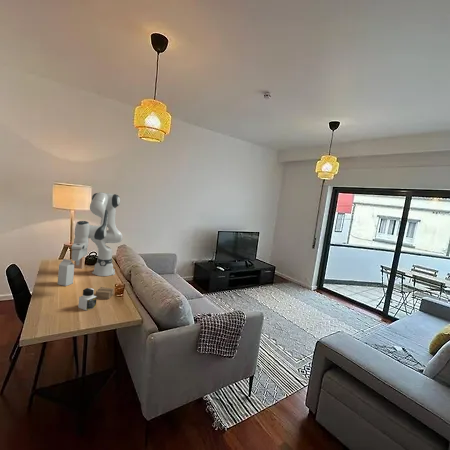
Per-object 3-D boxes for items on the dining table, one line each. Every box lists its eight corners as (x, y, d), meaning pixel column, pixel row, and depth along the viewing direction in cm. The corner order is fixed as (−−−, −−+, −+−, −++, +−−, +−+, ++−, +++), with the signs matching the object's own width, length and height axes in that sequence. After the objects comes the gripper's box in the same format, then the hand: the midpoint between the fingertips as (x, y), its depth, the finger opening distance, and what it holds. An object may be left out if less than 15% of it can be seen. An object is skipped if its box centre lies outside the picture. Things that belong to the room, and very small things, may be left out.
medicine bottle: (86, 310, 158) (88, 292, 157) (77, 307, 160) (79, 289, 159) (95, 307, 165) (97, 288, 164) (87, 304, 167) (89, 286, 166)
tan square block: (100, 293, 186) (100, 287, 186) (113, 294, 187) (113, 288, 187) (95, 298, 177) (95, 291, 177) (108, 299, 178) (109, 292, 178)
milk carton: (65, 286, 190) (67, 261, 189) (57, 284, 192) (59, 259, 190) (73, 283, 197) (75, 259, 195) (65, 281, 198) (67, 257, 197)
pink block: (76, 266, 182) (77, 255, 181) (83, 266, 183) (84, 256, 182) (74, 268, 177) (74, 257, 176) (81, 268, 178) (82, 258, 178)
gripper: (81, 241, 188) (79, 259, 189) (70, 246, 168) (68, 267, 169) (90, 242, 189) (88, 260, 191) (81, 247, 169) (79, 268, 171)
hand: (79, 263), depth 180 cm, fingers closed on pink block, 5 cm apart
